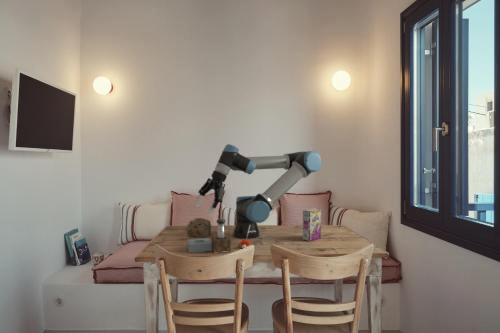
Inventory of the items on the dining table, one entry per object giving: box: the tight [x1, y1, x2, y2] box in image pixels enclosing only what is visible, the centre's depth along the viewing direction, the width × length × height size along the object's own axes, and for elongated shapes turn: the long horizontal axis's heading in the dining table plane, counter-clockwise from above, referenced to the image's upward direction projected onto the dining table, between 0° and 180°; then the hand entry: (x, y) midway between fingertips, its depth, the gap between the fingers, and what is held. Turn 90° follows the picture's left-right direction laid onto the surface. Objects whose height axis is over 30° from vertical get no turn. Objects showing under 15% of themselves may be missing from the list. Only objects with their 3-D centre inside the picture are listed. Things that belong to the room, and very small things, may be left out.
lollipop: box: [237, 225, 256, 249], centre depth 171 cm, size 6×10×12 cm, turn 95°
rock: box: [185, 217, 212, 238], centre depth 203 cm, size 20×14×10 cm
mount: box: [211, 235, 232, 253], centre depth 166 cm, size 8×8×6 cm
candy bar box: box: [302, 208, 322, 242], centre depth 188 cm, size 11×5×16 cm, turn 134°
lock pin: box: [216, 218, 226, 239], centre depth 166 cm, size 4×4×15 cm
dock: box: [186, 237, 213, 254], centre depth 168 cm, size 11×11×4 cm
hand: (203, 210), depth 174 cm, fingers open, 13 cm apart
